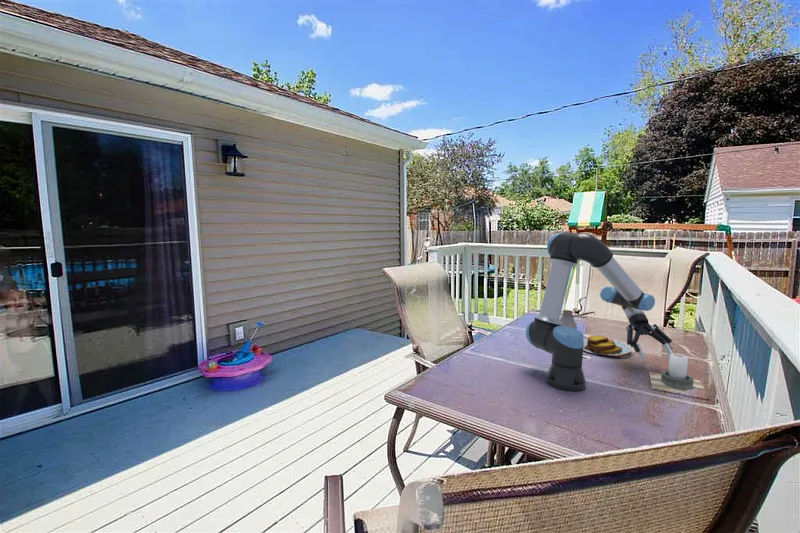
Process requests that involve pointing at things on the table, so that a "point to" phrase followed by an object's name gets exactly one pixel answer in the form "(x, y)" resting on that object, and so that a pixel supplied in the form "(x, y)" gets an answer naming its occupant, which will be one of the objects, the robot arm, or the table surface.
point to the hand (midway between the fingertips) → (657, 358)
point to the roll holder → (673, 382)
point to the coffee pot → (570, 318)
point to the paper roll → (678, 366)
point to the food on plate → (605, 346)
